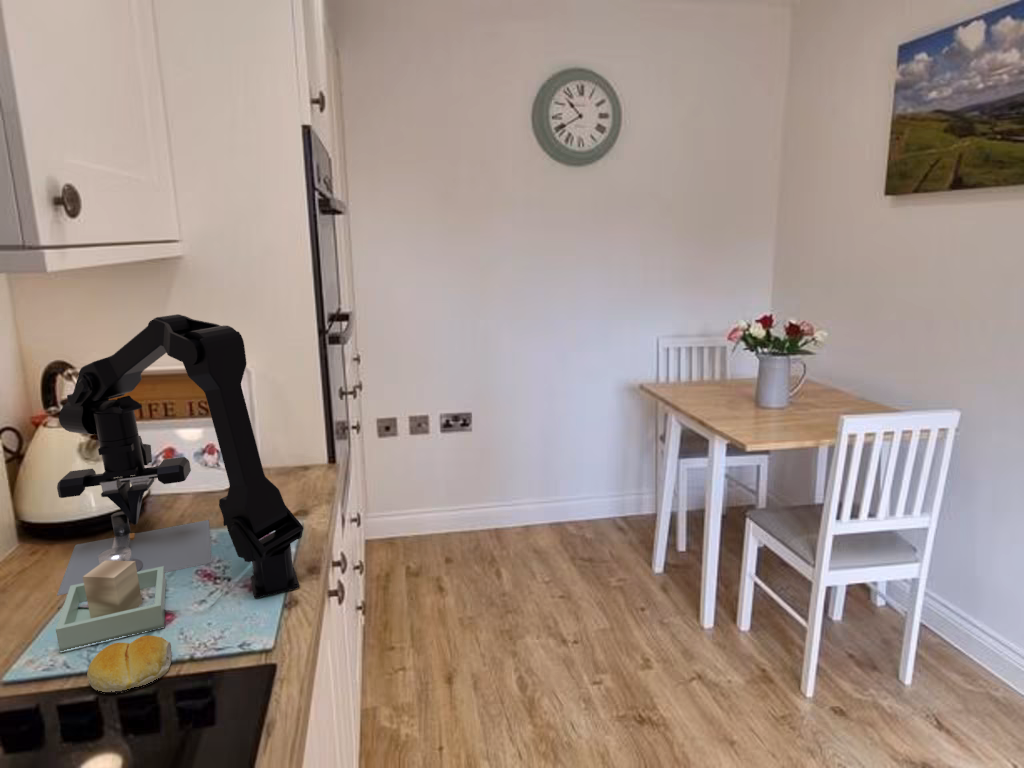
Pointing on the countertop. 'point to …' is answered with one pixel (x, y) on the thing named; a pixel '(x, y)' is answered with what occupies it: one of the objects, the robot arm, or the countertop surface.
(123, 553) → the crank
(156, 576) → the tray
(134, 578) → the block
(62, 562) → the countertop surface
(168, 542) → the crank base
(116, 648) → the bread roll
